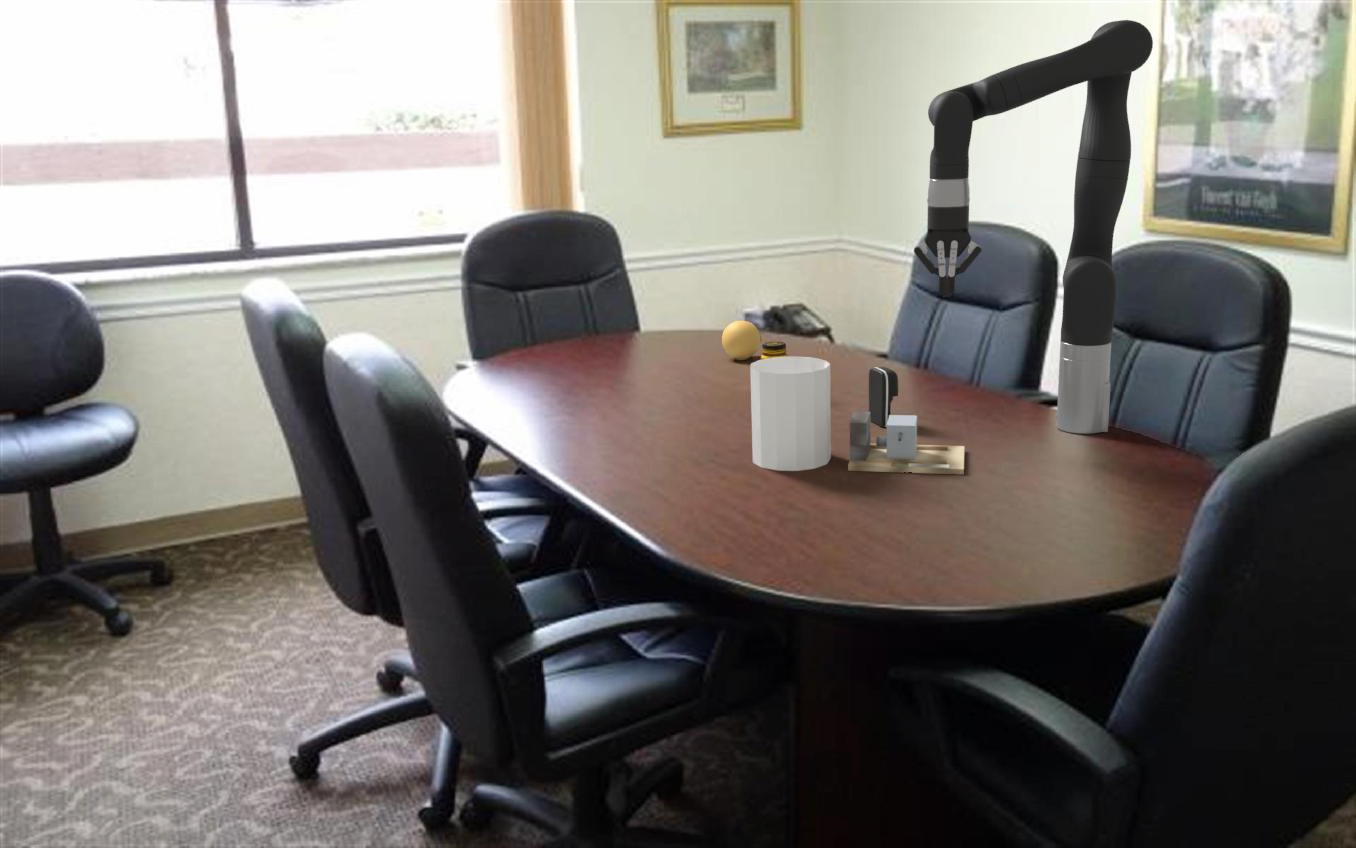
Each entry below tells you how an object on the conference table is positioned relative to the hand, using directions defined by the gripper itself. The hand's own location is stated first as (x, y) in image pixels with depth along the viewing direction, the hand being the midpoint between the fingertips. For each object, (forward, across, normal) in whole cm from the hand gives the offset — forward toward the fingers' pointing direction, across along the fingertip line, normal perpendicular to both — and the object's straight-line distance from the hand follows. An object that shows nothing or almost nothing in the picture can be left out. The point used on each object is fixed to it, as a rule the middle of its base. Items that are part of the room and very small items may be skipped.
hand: (946, 295), depth 225 cm
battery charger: (+27, +12, -6) cm, 30 cm away
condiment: (+27, +38, -28) cm, 55 cm away
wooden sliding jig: (+27, +6, +19) cm, 34 cm away
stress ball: (+27, +52, -64) cm, 87 cm away
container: (+27, +27, +20) cm, 43 cm away
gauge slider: (+26, +8, +21) cm, 34 cm away
